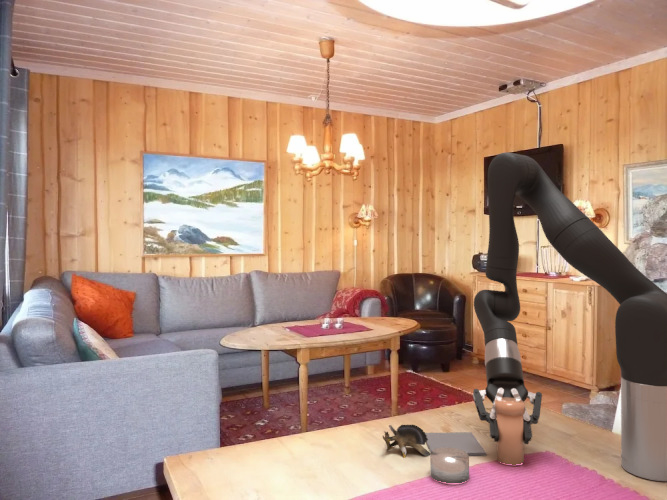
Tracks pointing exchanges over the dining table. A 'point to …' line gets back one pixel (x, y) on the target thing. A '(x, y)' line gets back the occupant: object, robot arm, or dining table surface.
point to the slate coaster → (456, 442)
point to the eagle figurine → (407, 439)
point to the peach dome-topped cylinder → (510, 430)
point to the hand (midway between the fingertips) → (511, 440)
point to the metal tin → (449, 465)
